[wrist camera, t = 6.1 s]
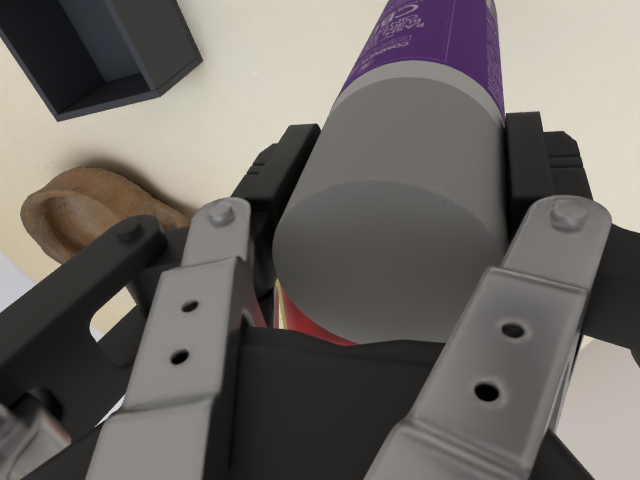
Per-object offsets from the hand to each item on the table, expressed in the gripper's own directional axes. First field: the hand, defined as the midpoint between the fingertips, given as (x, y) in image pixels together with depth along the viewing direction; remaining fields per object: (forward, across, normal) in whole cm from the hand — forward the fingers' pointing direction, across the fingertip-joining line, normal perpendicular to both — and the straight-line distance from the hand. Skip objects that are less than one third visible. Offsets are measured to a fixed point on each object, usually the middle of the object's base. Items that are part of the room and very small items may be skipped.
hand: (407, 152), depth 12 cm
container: (+11, 0, 0) cm, 11 cm away
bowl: (+27, +36, +21) cm, 50 cm away
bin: (+27, +28, +1) cm, 39 cm away
